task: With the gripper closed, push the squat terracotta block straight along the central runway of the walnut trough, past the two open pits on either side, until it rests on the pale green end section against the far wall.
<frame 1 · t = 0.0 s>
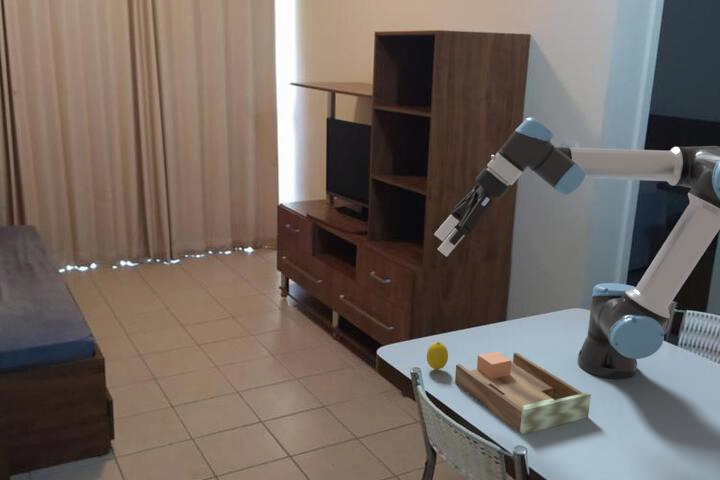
hand: (440, 245, 171), 36 cm above the table, tool tilted 35°, fingers open, 13 cm apart
block: (493, 372, 180), point 2 cm above the table, touching box
box: (517, 398, 172), on the table
lemon: (436, 370, 186), on the table
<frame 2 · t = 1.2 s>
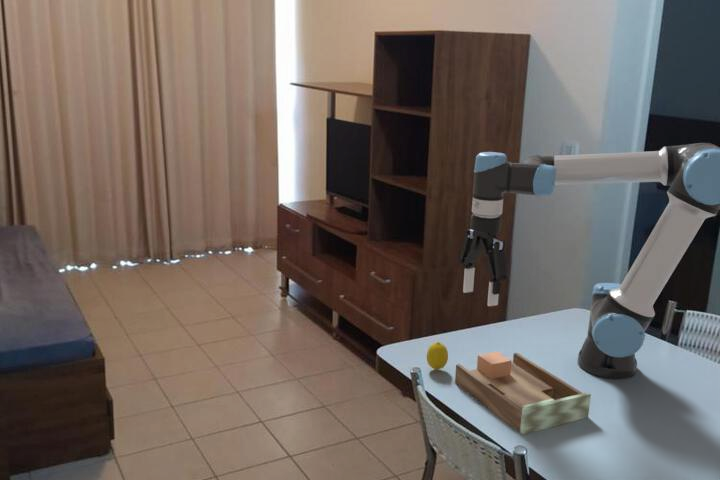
hand: (480, 298, 183), 20 cm above the table, tool pointing down, fingers open, 10 cm apart
nothing on the table moved.
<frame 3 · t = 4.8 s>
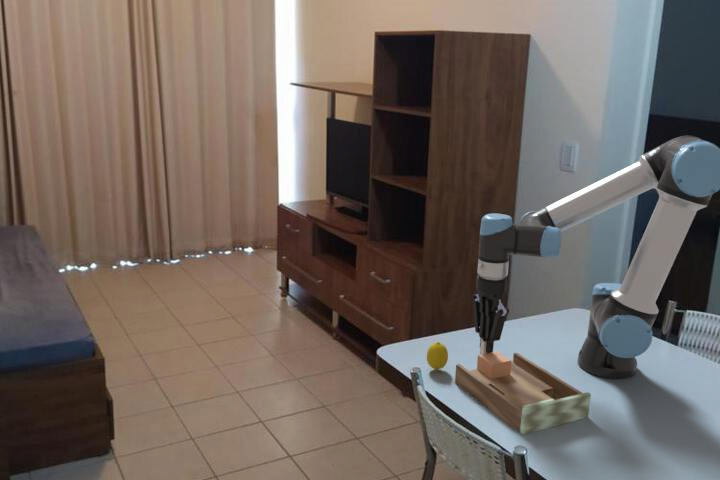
hand: (485, 362, 183), 4 cm above the table, tool pointing down, fingers closed
block: (493, 372, 180), point 3 cm above the table, touching gripper
everything else where it was.
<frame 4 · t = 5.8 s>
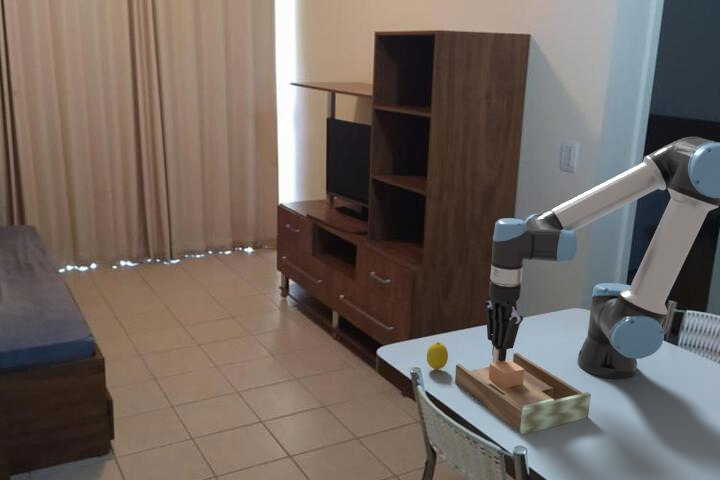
hand: (497, 370, 179), 4 cm above the table, tool pointing down, fingers closed
block: (505, 381, 176), point 3 cm above the table, touching gripper
everything else where it was.
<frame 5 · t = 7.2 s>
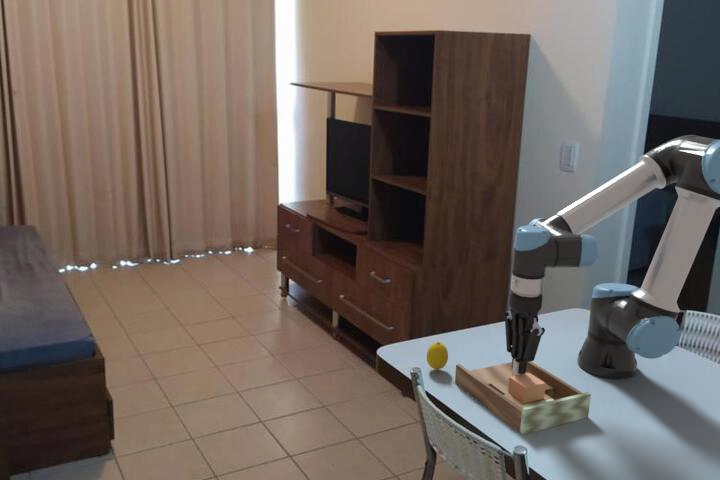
hand: (517, 383, 172), 4 cm above the table, tool pointing down, fingers closed
block: (525, 395, 169), point 3 cm above the table, touching box
everything else where it was.
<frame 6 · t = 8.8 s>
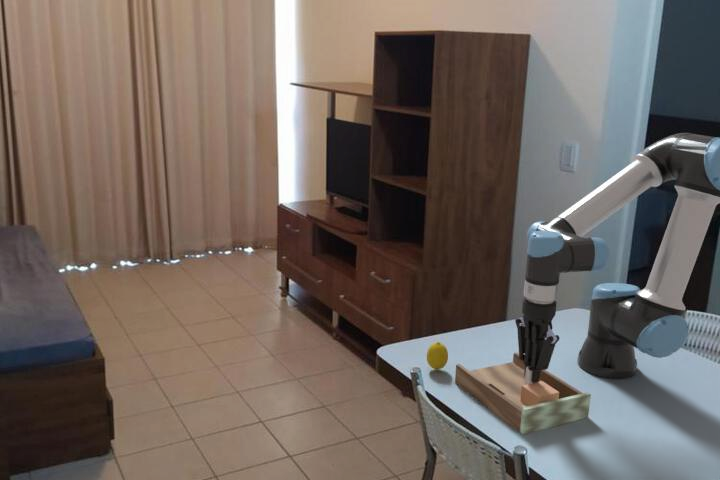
hand: (530, 392, 168), 4 cm above the table, tool pointing down, fingers closed
block: (538, 404, 165), point 2 cm above the table, touching gripper, box
everything else where it was.
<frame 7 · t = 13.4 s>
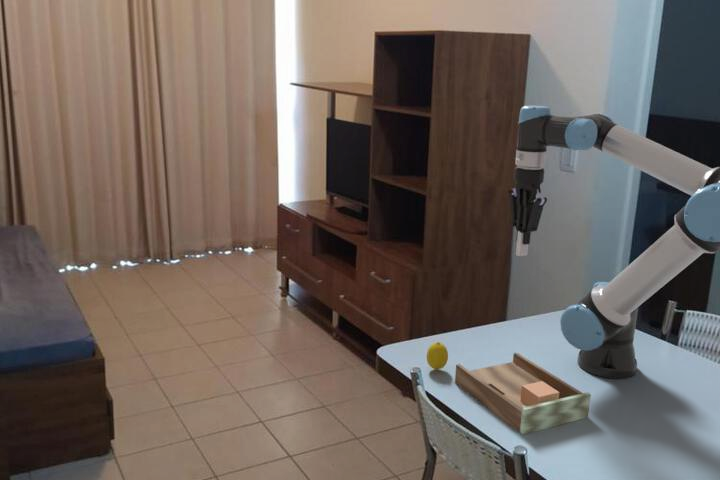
hand: (521, 254, 188), 29 cm above the table, tool pointing down, fingers closed
block: (538, 404, 165), point 2 cm above the table, touching box
everything else where it was.
at the end: block 1.0 cm from the target spot on the box, point 2.5 cm above the box's base; block tilted 0° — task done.
